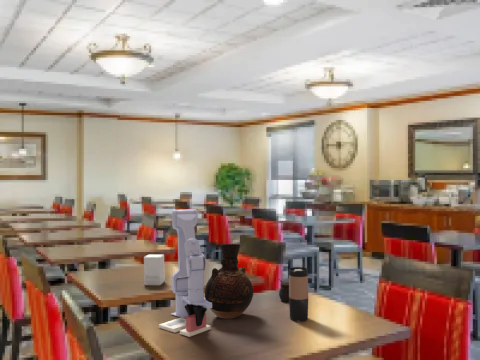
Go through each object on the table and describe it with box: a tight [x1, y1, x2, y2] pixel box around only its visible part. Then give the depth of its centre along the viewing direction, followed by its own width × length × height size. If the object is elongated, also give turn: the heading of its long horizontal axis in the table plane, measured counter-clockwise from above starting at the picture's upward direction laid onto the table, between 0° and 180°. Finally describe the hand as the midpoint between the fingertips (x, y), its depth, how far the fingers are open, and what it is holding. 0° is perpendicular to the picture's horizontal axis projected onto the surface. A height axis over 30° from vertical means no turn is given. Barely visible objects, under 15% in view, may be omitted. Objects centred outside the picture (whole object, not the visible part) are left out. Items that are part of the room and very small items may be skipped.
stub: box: [179, 312, 211, 338], centre depth 172 cm, size 11×5×6 cm, turn 140°
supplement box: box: [143, 254, 166, 286], centre depth 249 cm, size 9×9×15 cm
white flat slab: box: [158, 317, 186, 333], centre depth 178 cm, size 11×9×1 cm
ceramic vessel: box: [204, 243, 254, 320], centre depth 191 cm, size 21×18×30 cm
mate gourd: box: [278, 278, 289, 303], centre depth 214 cm, size 7×8×10 cm
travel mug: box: [288, 266, 309, 322], centre depth 187 cm, size 8×8×20 cm
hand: (196, 324), depth 172 cm, fingers closed on stub, 2 cm apart
